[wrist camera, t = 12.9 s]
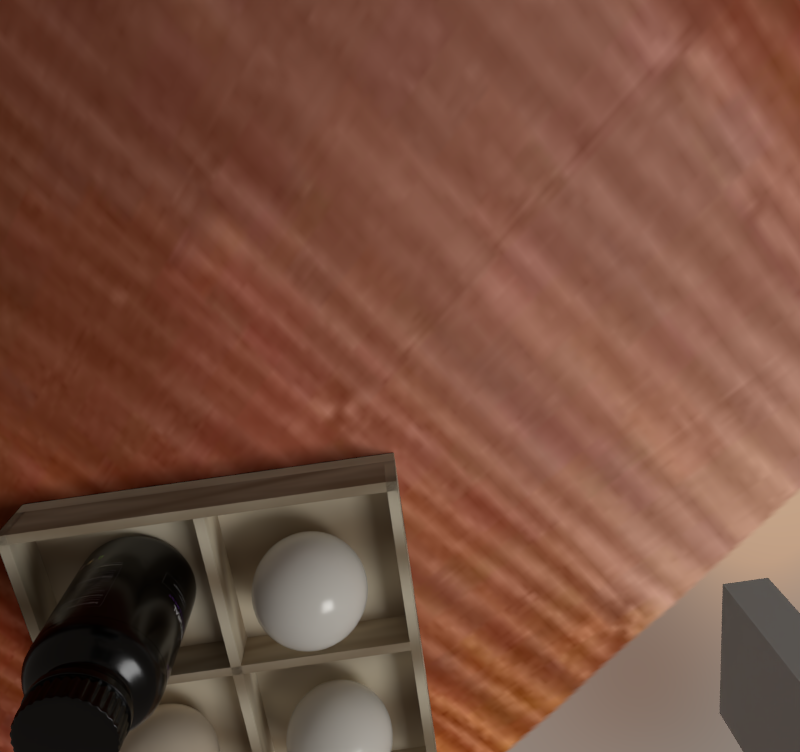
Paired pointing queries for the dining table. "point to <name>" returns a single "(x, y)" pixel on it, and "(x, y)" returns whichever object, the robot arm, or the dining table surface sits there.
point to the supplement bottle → (105, 649)
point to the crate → (249, 589)
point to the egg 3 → (340, 720)
